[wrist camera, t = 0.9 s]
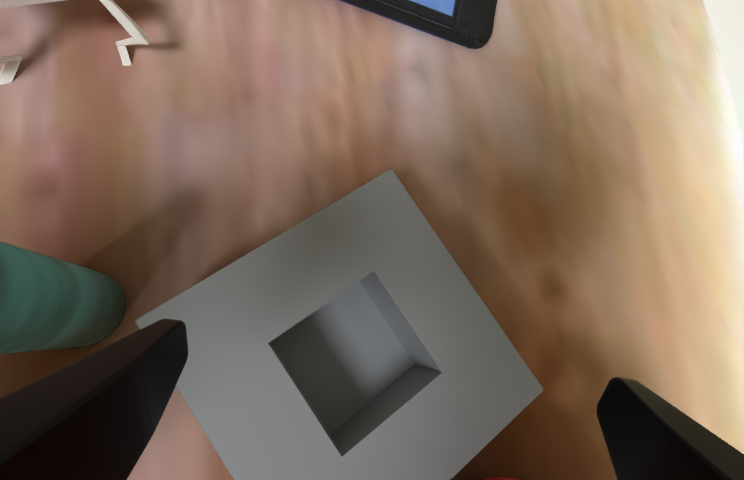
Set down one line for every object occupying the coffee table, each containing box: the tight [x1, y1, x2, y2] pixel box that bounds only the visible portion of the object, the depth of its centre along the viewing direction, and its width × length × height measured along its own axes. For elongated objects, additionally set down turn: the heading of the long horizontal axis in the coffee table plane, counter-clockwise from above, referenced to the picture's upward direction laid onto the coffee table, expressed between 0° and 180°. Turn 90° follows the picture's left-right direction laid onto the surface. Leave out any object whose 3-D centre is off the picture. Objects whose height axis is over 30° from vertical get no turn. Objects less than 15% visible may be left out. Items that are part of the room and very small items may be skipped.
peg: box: [0, 242, 126, 354], centre depth 16 cm, size 4×4×10 cm
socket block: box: [135, 169, 544, 480], centre depth 21 cm, size 14×14×5 cm
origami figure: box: [0, 0, 149, 85], centre depth 21 cm, size 12×8×5 cm
